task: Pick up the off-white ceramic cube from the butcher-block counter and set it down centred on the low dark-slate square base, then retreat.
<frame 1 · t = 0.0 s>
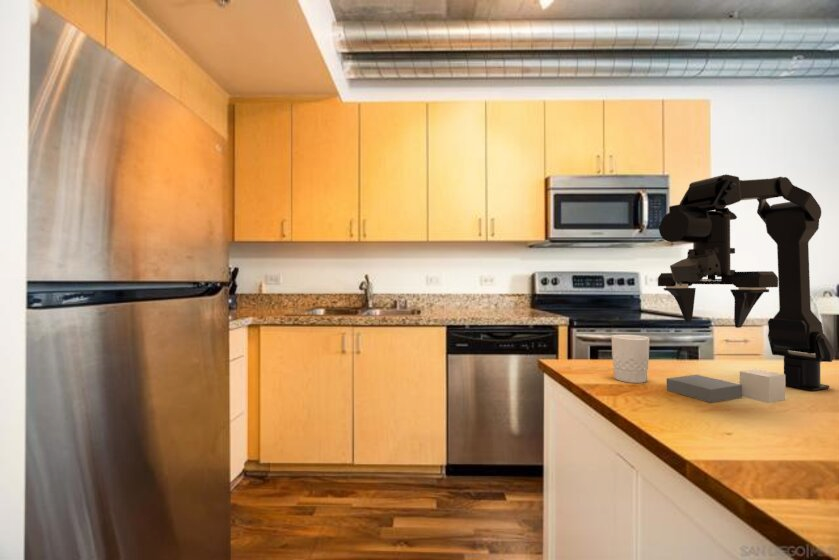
hand: (711, 324, 76), 15 cm above the counter, fingers open, 9 cm apart
cube: (762, 398, 78), on the counter
white cup: (630, 380, 92), on the counter
base: (703, 393, 81), on the counter
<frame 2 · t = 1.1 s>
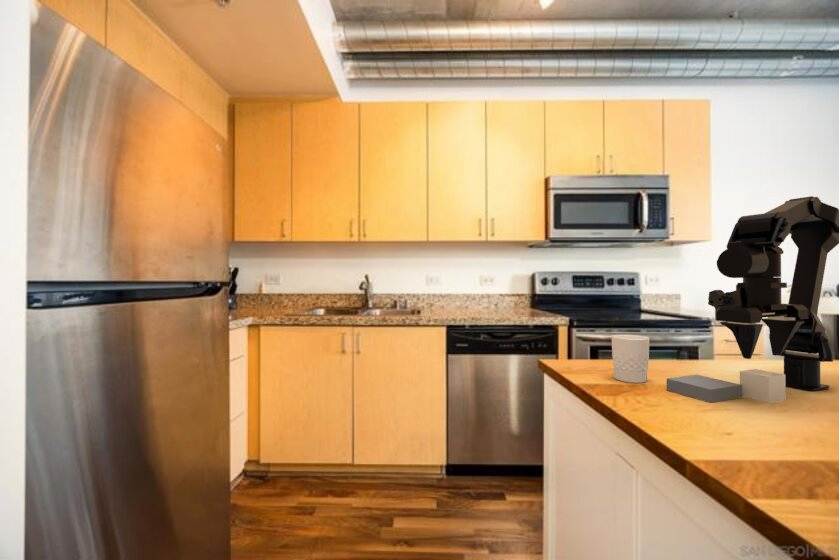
hand: (762, 356, 78), 8 cm above the counter, fingers open, 9 cm apart
nothing on the counter moved.
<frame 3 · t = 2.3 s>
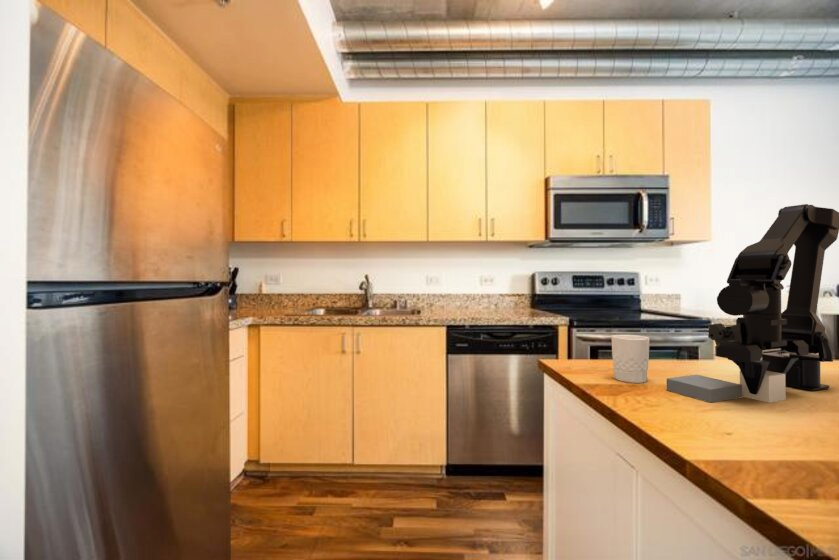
hand: (762, 392, 78), 1 cm above the counter, fingers closed on cube, 5 cm apart
cube: (762, 397, 78), on the counter, touching gripper
everything else where it was.
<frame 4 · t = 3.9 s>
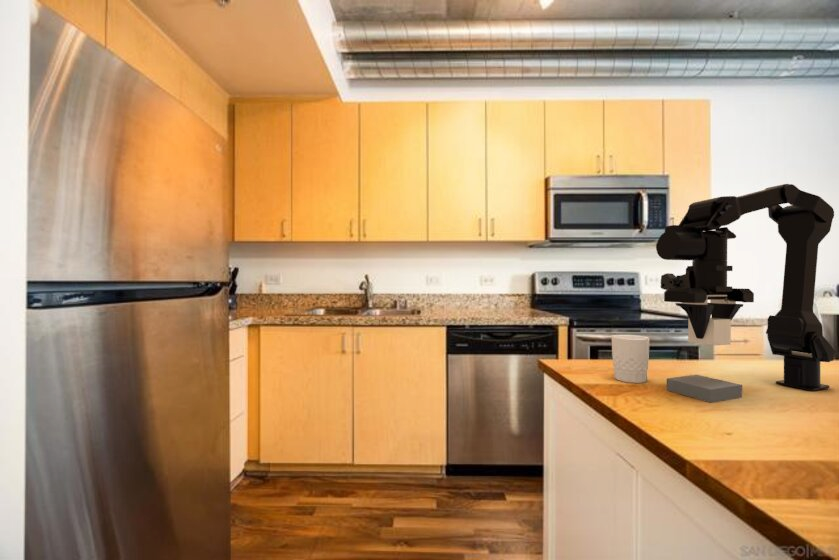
hand: (708, 338, 80), 11 cm above the counter, fingers closed on cube, 5 cm apart
cube: (709, 343, 80), point 10 cm above the counter, touching gripper
everything else where it was.
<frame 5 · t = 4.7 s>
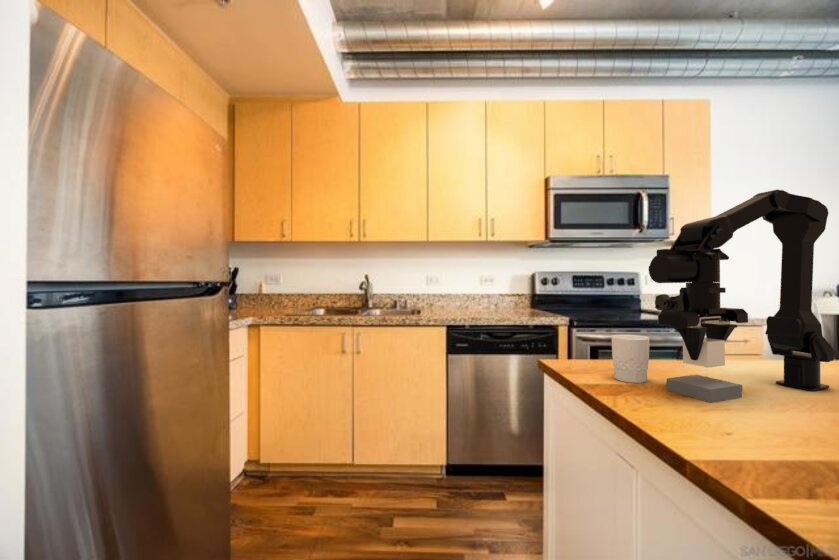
hand: (703, 359, 81), 7 cm above the counter, fingers closed on cube, 5 cm apart
cube: (703, 364, 80), point 6 cm above the counter, touching gripper
everything else where it was.
when the fingers open (5 cm above the counter, at t = 5.5 s): cube drops 1 cm, resting on base.
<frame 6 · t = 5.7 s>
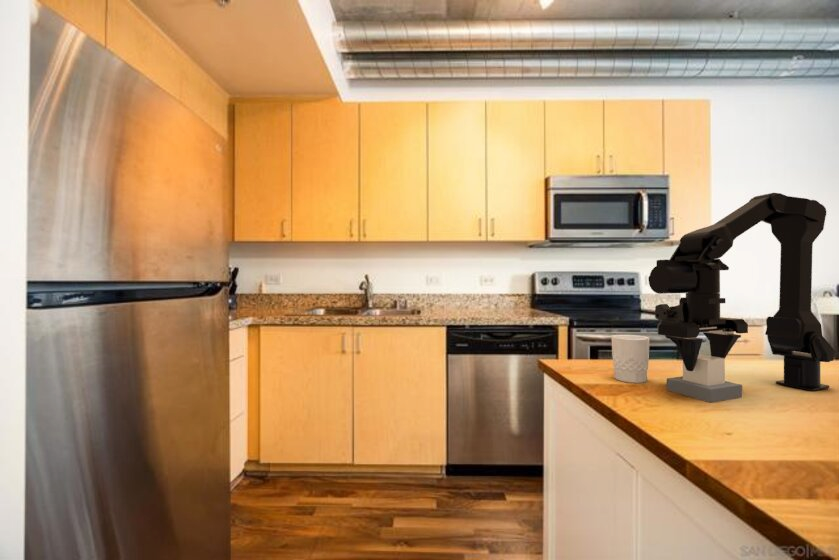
hand: (703, 369, 81), 5 cm above the counter, fingers open, 7 cm apart
cube: (703, 381, 80), point 2 cm above the counter, touching base
everything else where it was.
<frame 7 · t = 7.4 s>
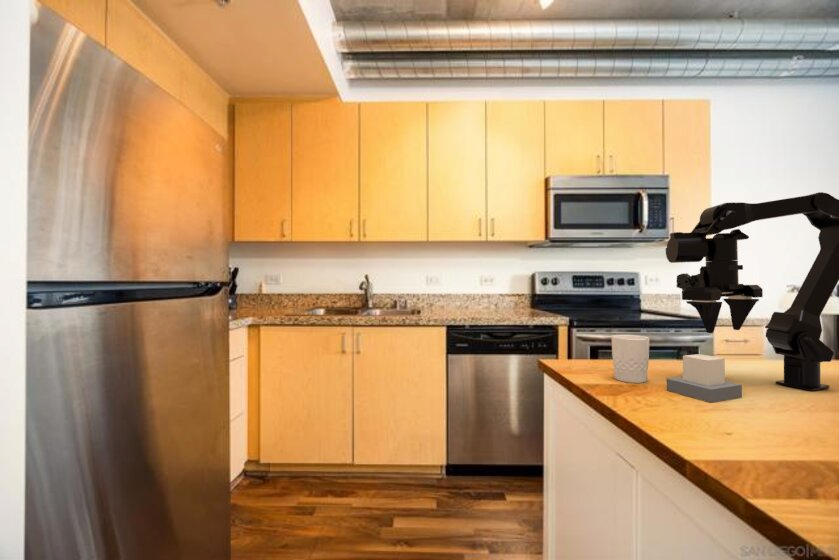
hand: (723, 331, 88), 12 cm above the counter, fingers open, 9 cm apart
nothing on the counter moved.
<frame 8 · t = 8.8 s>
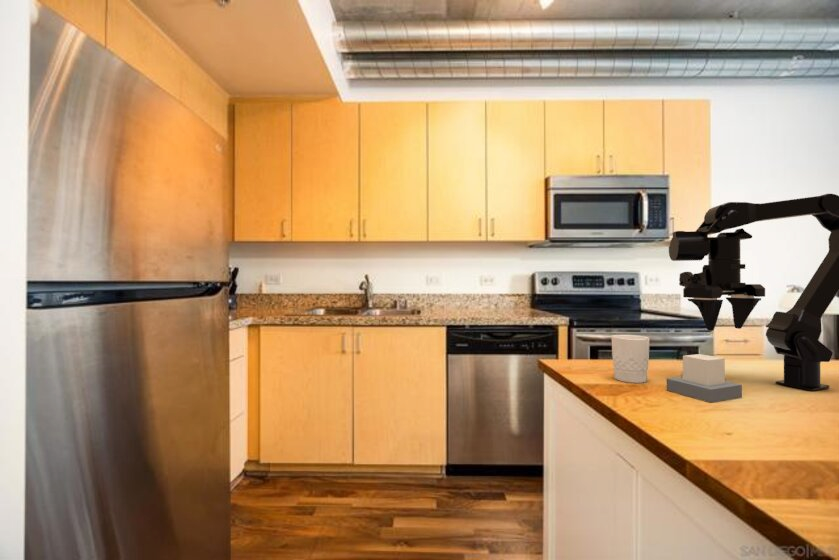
hand: (724, 329, 89), 12 cm above the counter, fingers open, 9 cm apart
nothing on the counter moved.
at the end: cube 0.1 cm off-centre on the base, point 2.5 cm above the base's base; cube tilted 0°; the gripper is holding nothing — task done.
